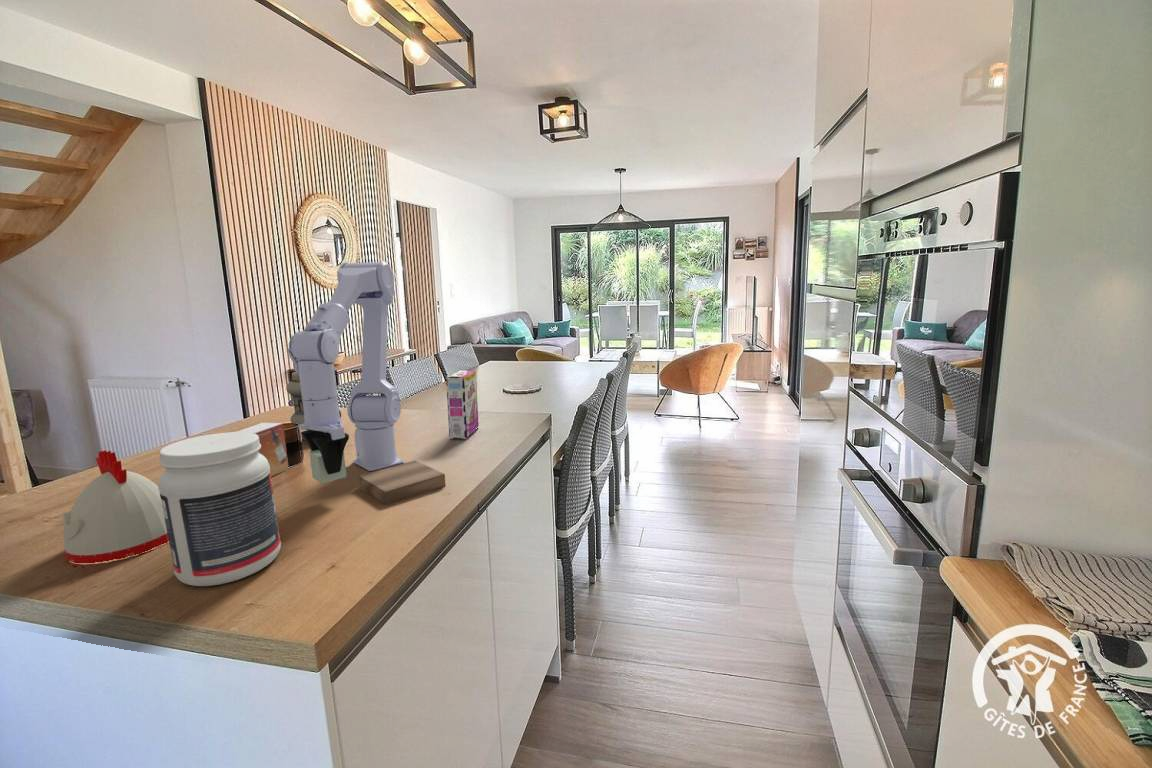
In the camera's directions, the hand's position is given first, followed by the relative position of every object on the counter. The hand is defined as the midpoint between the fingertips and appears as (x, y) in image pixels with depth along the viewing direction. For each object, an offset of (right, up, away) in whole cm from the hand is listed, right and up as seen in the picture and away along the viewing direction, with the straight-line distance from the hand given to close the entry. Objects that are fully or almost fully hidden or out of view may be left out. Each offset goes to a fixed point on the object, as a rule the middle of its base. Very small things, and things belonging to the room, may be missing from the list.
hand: (328, 469), depth 97 cm
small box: (-21, -4, +15) cm, 26 cm away
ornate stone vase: (-23, +1, +42) cm, 48 cm away
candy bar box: (+16, +2, +42) cm, 45 cm away
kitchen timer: (-26, -10, -14) cm, 31 cm away
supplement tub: (-4, -11, -22) cm, 24 cm away
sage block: (0, -2, 0) cm, 2 cm away
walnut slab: (+12, -5, +6) cm, 14 cm away
